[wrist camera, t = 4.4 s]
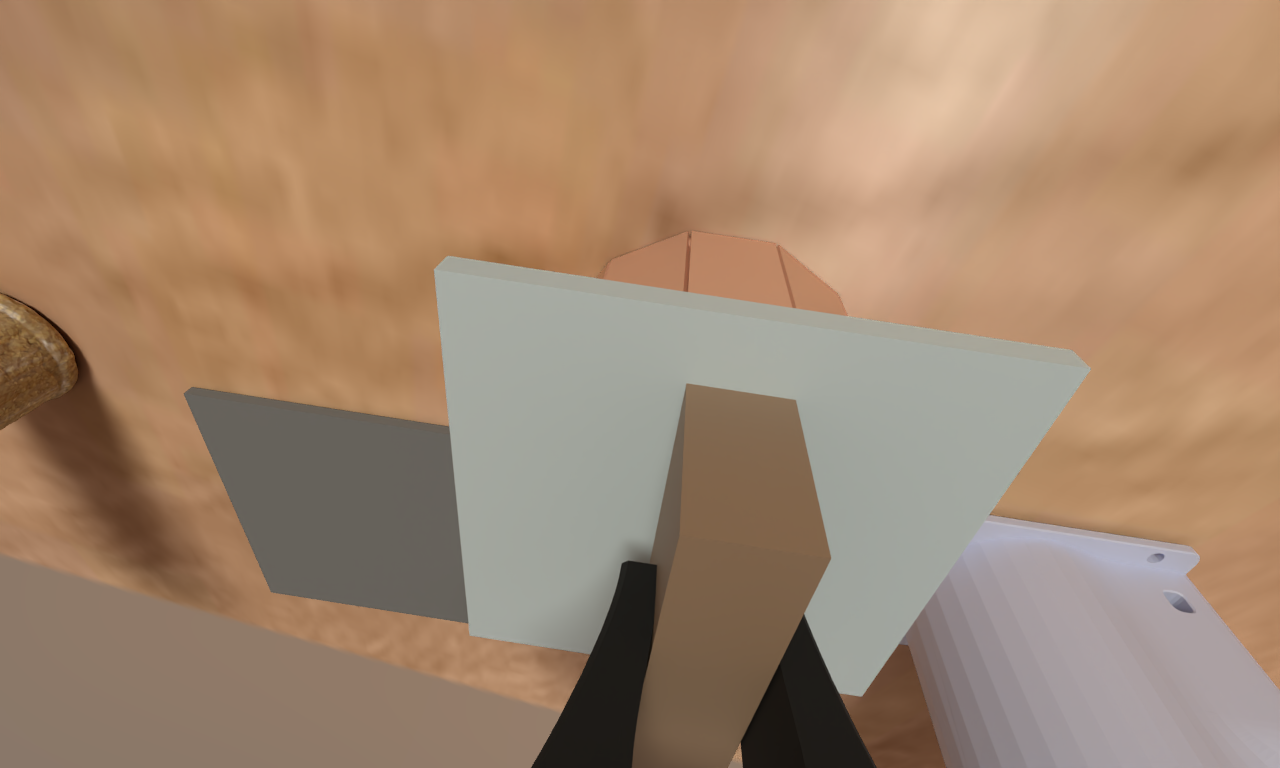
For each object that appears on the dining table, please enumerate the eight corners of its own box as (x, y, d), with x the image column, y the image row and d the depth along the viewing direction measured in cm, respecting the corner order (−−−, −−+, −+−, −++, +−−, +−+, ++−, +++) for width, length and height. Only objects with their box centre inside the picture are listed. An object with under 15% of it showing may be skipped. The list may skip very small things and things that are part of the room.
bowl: (897, 261, 15) (948, 335, 12) (802, 491, 21) (821, 586, 17) (570, 212, 15) (534, 273, 12) (559, 454, 21) (531, 541, 17)
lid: (1072, 350, 10) (1262, 535, 6) (856, 675, 16) (896, 854, 13) (447, 256, 10) (316, 390, 7) (476, 615, 16) (417, 778, 13)
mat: (518, 437, 20) (515, 444, 20) (520, 623, 27) (517, 631, 27) (191, 387, 21) (183, 393, 20) (276, 585, 28) (271, 592, 27)
